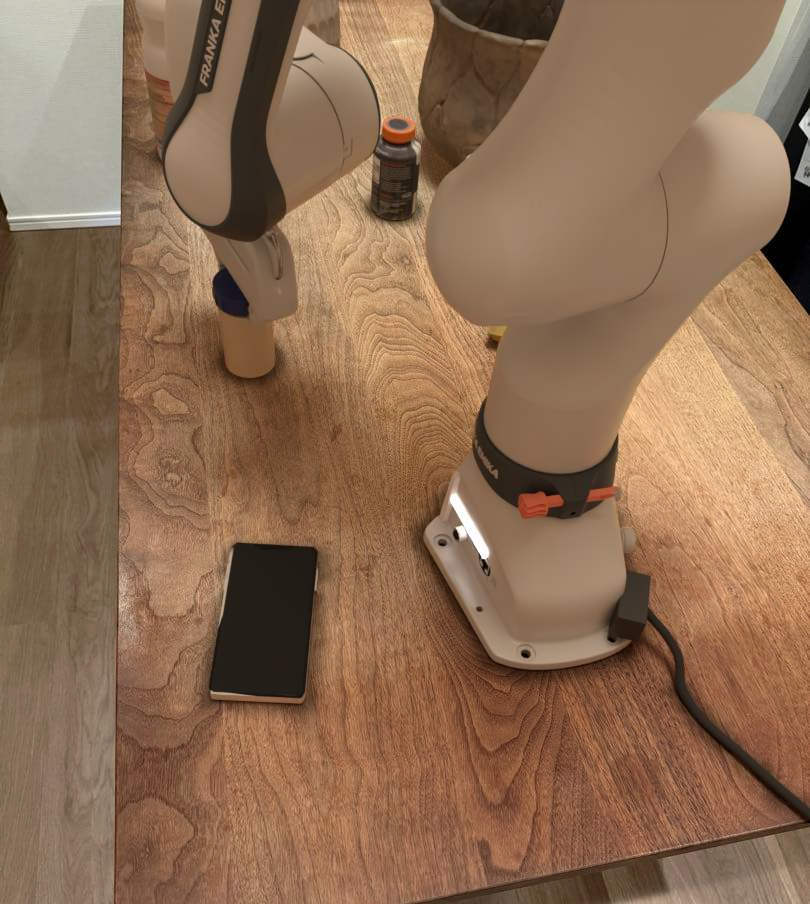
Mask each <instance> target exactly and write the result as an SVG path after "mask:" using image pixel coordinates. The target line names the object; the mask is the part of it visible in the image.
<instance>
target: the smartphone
mask: <svg viewBox="0 0 810 904" xmlns="http://www.w3.org/2000/svg"><path fill="white" fill-rule="evenodd" d="M318 563H319V551H318V550H317V549H316V548H315V546H308V545H289V544H275V543H274V544H273V543H272V544H271V543H257V542H256V543H253V542H235V543H233V545H232V546H231V547H230V552H229V553H228V559H227V564H226V570H225V576H224V581H223V589H222V591H223V596H222V602H221V607H220V608H221V609H220V614H219V615H220V616H219V621H218V625H217V626H218V627H217V632H216V639H215V643H214V651H213V658H212V664H211V669H210V676H209V682H208V691H209V695H210V698H211V700H217V701H218V700H219V701H235V702H239V701H240V702H259V703H278V704H279V703H281V704H297V705H298V704H299V705H300V704H302V703H303V702H304V701H305V699H306V695H307V694H306V693H307V682H308V673H309V662H310V661H309V660H310V652H311V651H310V650H311V640H312V628H313V618H314V617H313V616H314V606H315V605H314V604H315V595H317V589H318V582H319V581H318V579H319V568H318V565H319V564H318Z"/></svg>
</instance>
